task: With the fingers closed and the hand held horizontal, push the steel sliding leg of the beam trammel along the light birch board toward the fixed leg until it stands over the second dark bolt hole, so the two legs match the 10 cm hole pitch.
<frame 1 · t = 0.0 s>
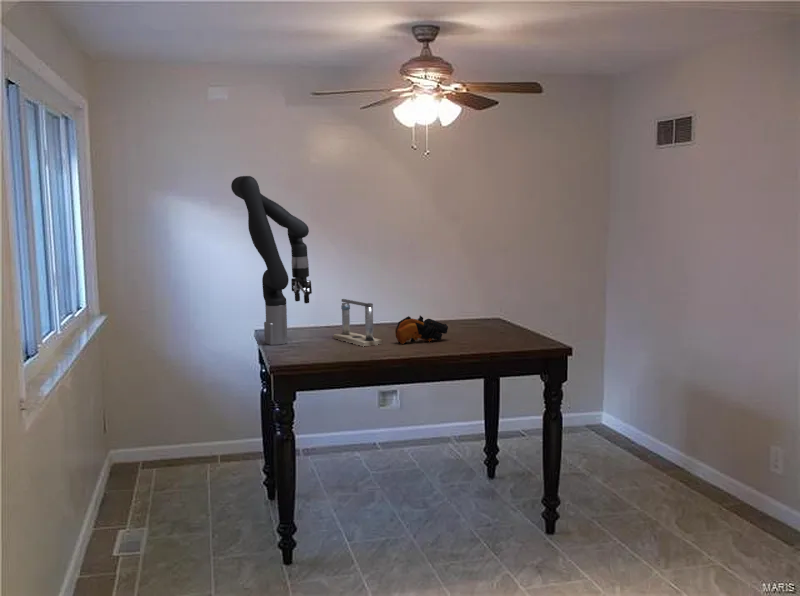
hand: (302, 302, 346), 17 cm above the table, tool pointing down, fingers open, 8 cm apart
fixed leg: (369, 344, 335), resting on hole board
tool: (421, 342, 340), on the table
sliding leg: (345, 318, 349), point 9 cm above the table, slide at 0.0 cm
hole board: (357, 341, 342), on the table
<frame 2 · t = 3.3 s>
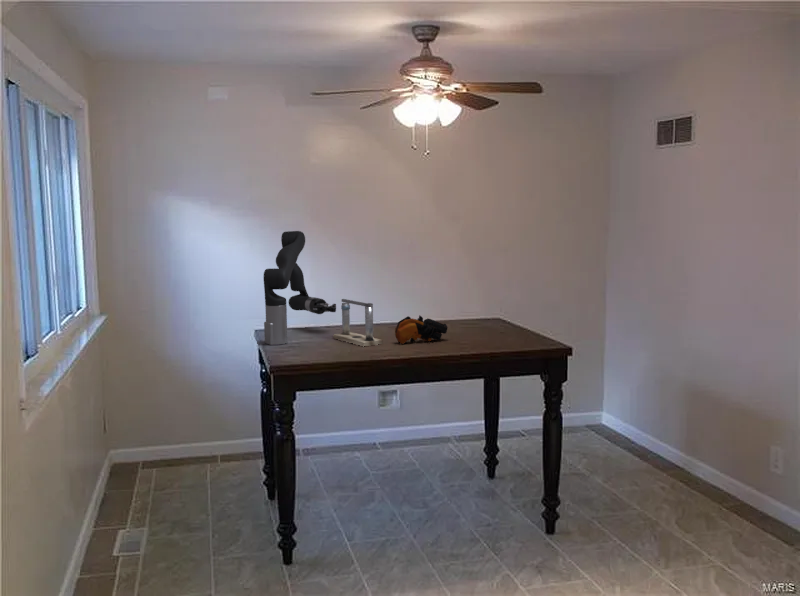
hand: (334, 309, 356), 12 cm above the table, tool horizontal, fingers closed
nothing on the table moved.
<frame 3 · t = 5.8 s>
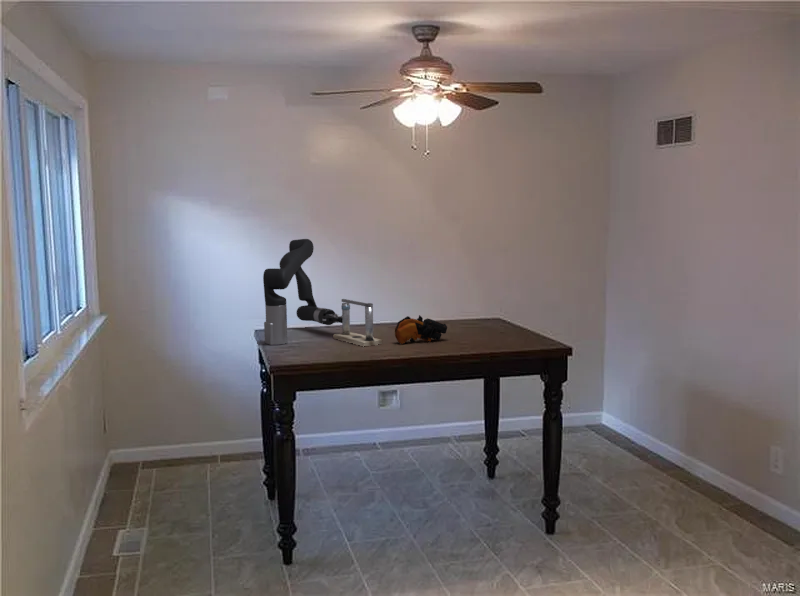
hand: (344, 320, 350), 8 cm above the table, tool horizontal, fingers closed
sliding leg: (345, 318, 348), point 9 cm above the table, slide at 0.1 cm, touching gripper
everything else where it was.
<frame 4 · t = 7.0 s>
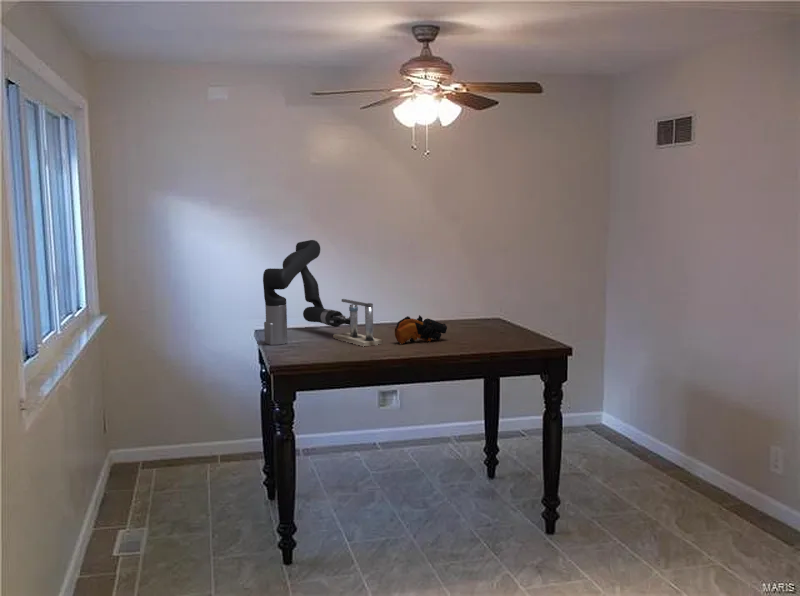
hand: (351, 322, 345), 8 cm above the table, tool horizontal, fingers closed
sliding leg: (353, 320, 343), point 9 cm above the table, slide at 6.6 cm, touching gripper
everything else where it was.
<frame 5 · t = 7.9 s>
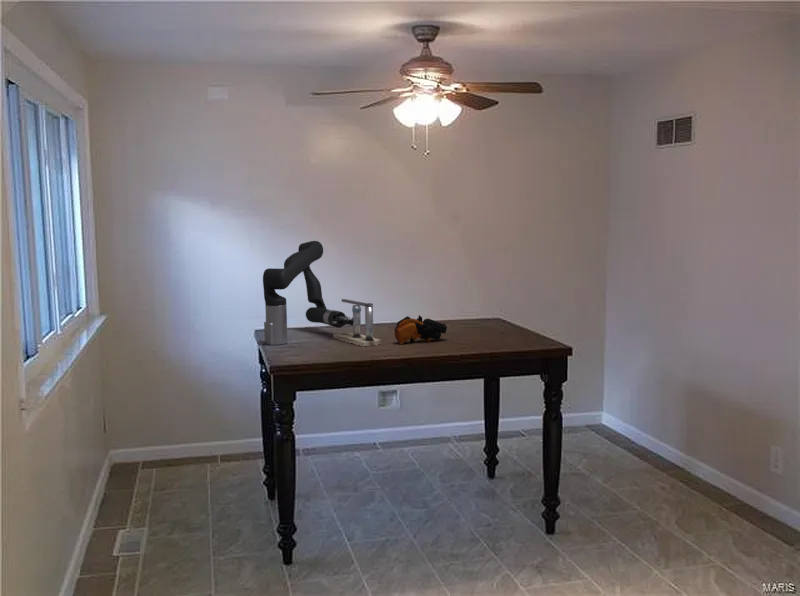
hand: (354, 323, 343), 8 cm above the table, tool horizontal, fingers closed
sliding leg: (356, 320, 341), point 9 cm above the table, slide at 9.1 cm, touching gripper
everything else where it was.
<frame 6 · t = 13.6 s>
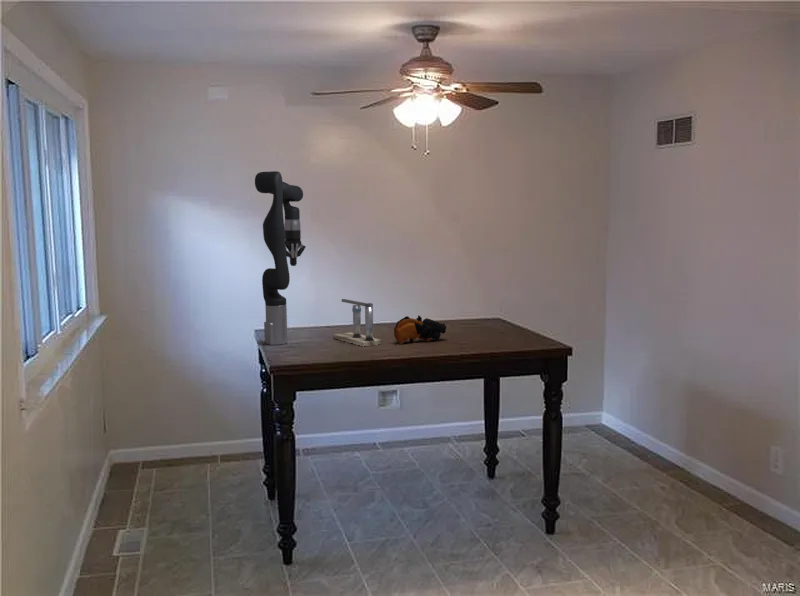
hand: (293, 265, 364), 32 cm above the table, tool pointing down, fingers closed
sliding leg: (356, 320, 341), point 9 cm above the table, slide at 9.2 cm
everything else where it was.
at the end: sliding leg slide at 9.2 cm; sliding leg 0.2 cm from the target spot, point 9.3 cm above the table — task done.
